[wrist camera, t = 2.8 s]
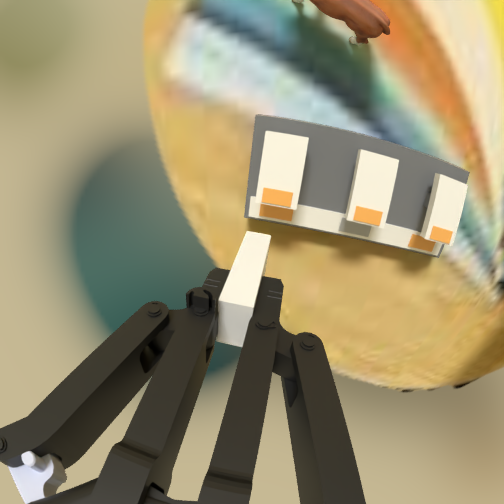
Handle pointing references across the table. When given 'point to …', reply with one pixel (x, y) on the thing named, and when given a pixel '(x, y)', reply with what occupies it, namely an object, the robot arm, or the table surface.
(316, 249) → the table surface
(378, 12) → the bull figurine
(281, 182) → the switch
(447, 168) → the switch panel
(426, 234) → the switch
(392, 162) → the switch middle
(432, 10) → the table surface
